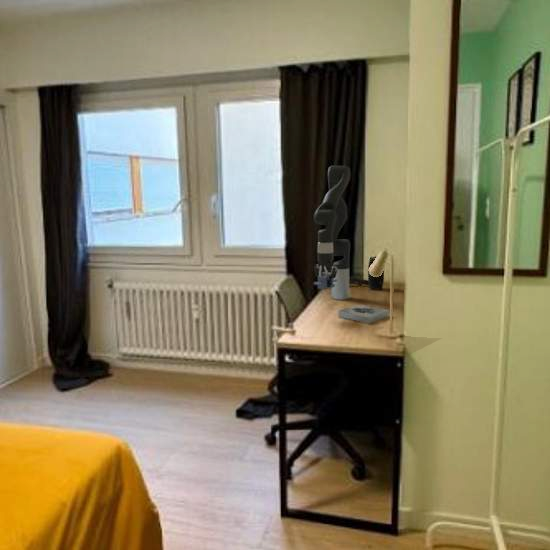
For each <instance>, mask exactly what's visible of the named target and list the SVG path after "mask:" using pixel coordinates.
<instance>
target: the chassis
mask: <svg viewBox="0 0 550 550" xmlns="http://www.w3.org/2000/svg"><path fill="white" fill-rule="evenodd" d="M337 314H338V315H337V316H338V318H342V319H346V318H347V320H350V319H351V321H355V320H356V322H359V321H360V323H364V322H365V324H368V323H369V324H372V323H375V322H378V321H381V320H383V319H386V318H388V316H389V317H390V310H389V309H384V308H379V307H375V306H374V307H373V306H368V305H364V304H356V305H353V306H350V307H347V308H343V309H340V310H338V313H337ZM385 317H386V318H385ZM380 319H381V320H380Z"/></svg>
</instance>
